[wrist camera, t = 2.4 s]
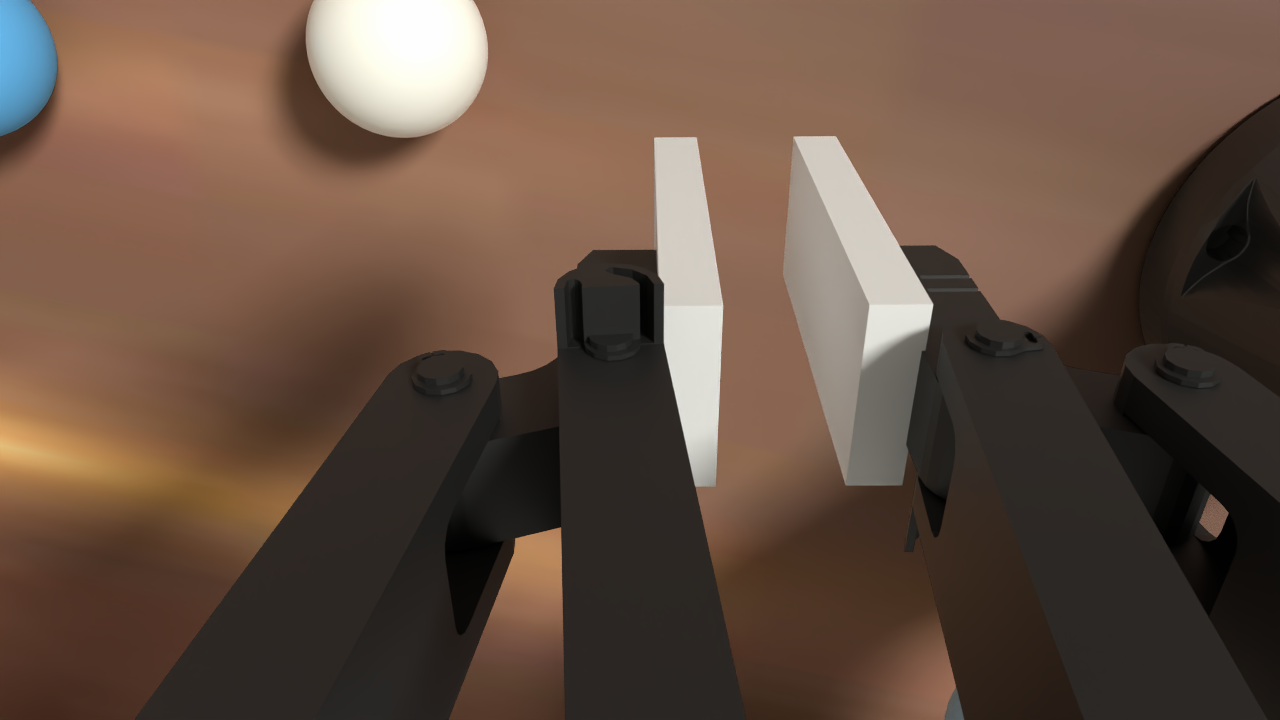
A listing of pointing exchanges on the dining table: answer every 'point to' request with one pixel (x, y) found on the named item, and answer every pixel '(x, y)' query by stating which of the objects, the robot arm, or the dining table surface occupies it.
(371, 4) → the white cue ball
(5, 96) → the blue object ball
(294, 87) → the dining table surface
